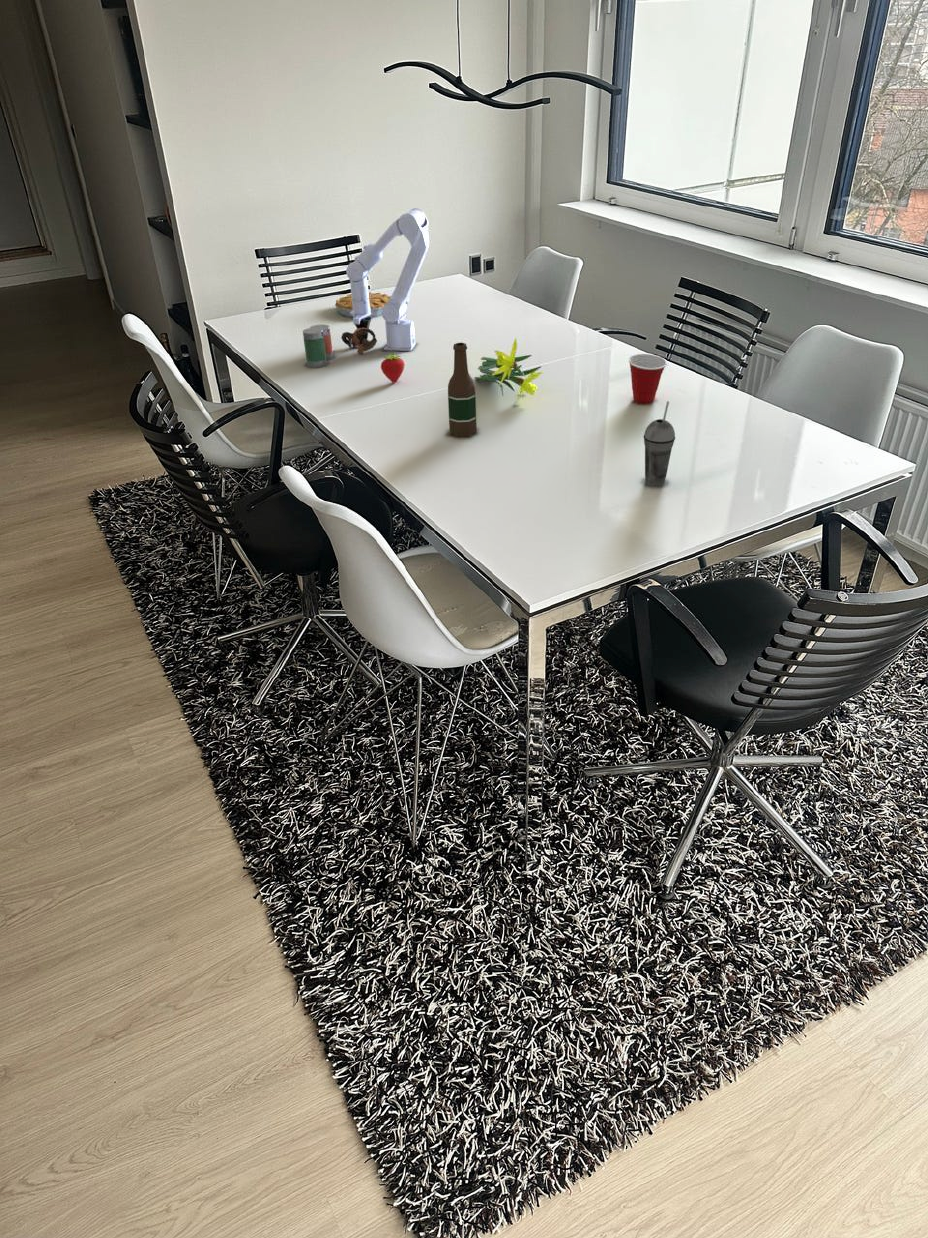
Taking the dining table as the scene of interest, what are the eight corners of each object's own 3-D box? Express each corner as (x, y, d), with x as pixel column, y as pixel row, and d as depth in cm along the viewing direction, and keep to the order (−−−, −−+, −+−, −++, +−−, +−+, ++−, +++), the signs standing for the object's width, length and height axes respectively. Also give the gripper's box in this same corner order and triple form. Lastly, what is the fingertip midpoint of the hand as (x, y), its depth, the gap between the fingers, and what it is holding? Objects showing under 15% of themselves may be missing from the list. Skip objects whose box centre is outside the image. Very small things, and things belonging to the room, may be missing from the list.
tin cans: (335, 354, 298) (331, 321, 292) (323, 367, 288) (319, 333, 281) (316, 354, 299) (312, 320, 293) (304, 367, 289) (299, 333, 282)
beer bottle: (481, 428, 243) (479, 340, 229) (472, 439, 237) (469, 349, 223) (454, 425, 245) (450, 338, 231) (444, 436, 239) (440, 347, 225)
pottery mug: (376, 345, 306) (379, 327, 299) (372, 365, 302) (375, 348, 295) (342, 337, 305) (344, 319, 298) (337, 357, 300) (339, 340, 293)
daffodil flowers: (517, 374, 279) (565, 379, 248) (483, 406, 278) (527, 415, 247) (485, 331, 272) (530, 330, 240) (450, 363, 271) (491, 366, 240)
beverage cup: (636, 476, 215) (642, 397, 204) (665, 474, 216) (674, 395, 204) (643, 490, 209) (651, 408, 198) (674, 488, 210) (683, 406, 198)
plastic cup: (650, 410, 249) (653, 368, 242) (617, 401, 255) (620, 360, 249) (670, 399, 256) (675, 358, 249) (638, 391, 262) (642, 350, 255)
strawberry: (378, 382, 275) (376, 350, 269) (400, 377, 278) (398, 345, 272) (386, 387, 271) (384, 355, 265) (409, 383, 274) (407, 350, 268)
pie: (369, 322, 328) (368, 308, 325) (324, 314, 338) (323, 300, 335) (404, 307, 343) (404, 293, 340) (360, 300, 353) (359, 287, 350)
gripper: (354, 292, 304) (358, 332, 311) (342, 304, 292) (347, 345, 300) (374, 292, 302) (378, 333, 310) (363, 304, 291) (367, 346, 298)
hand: (364, 339), depth 305 cm, fingers closed
